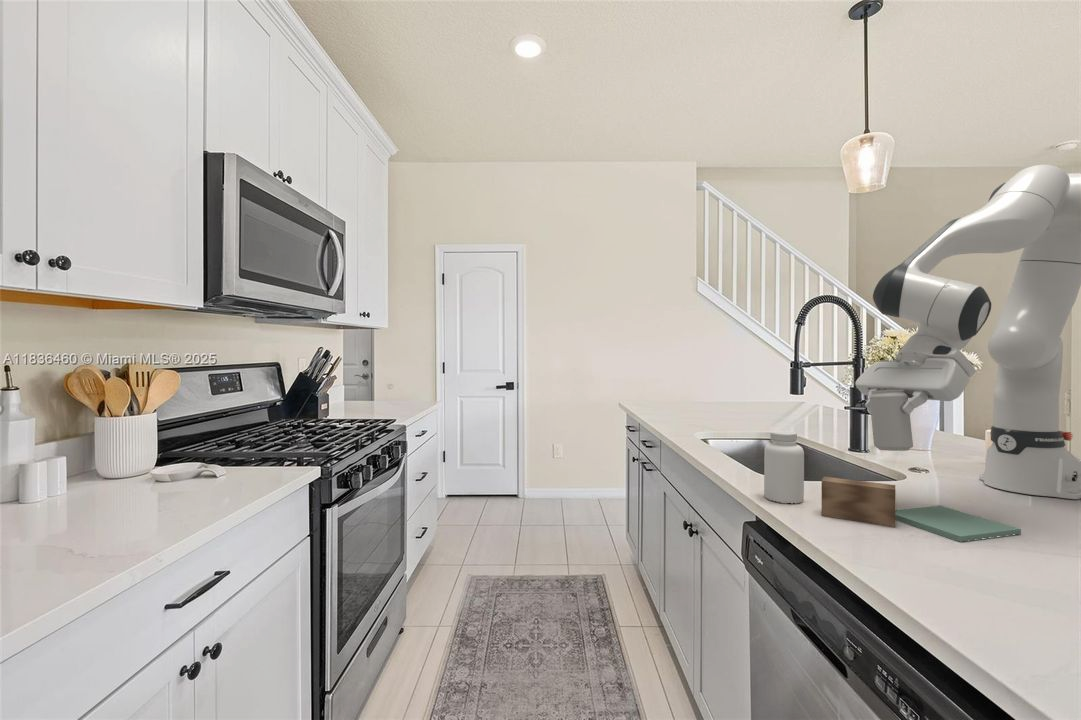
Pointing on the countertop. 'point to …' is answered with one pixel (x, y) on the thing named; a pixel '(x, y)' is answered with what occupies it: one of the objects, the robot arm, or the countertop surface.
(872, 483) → the walnut screen
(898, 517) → the green pad
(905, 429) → the beverage can
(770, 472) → the pill bottle
